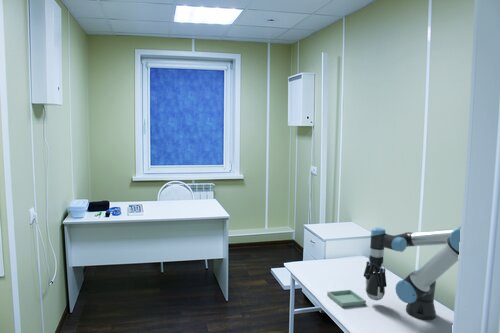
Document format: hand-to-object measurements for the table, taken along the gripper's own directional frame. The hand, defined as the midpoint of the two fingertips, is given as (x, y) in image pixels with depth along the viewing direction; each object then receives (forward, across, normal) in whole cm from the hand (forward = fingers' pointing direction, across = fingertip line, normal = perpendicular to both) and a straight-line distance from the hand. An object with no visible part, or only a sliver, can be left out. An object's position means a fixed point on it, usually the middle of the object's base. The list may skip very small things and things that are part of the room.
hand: (373, 293), depth 228 cm
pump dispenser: (+3, 0, -1) cm, 3 cm away
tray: (+6, +9, +12) cm, 16 cm away
